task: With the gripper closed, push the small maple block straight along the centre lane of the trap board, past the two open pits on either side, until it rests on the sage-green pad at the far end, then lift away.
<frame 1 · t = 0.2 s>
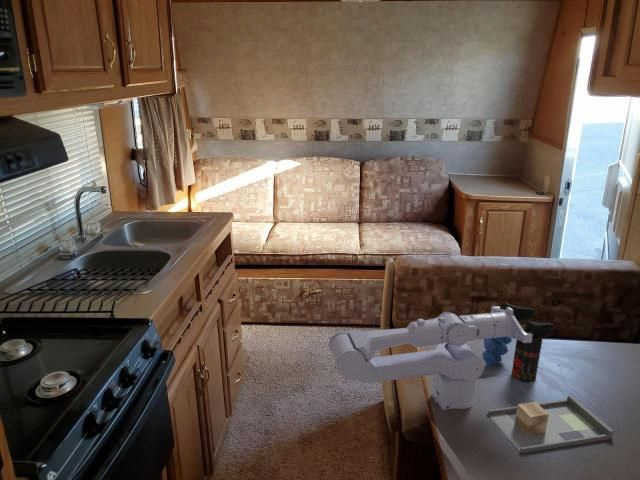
hand: (542, 320, 115), 21 cm above the table, tool horizontal, fingers open, 7 cm apart
block: (529, 428, 108), point 1 cm above the table, touching trap board
trap board: (546, 431, 109), on the table
deodorant: (522, 381, 128), on the table
grapes: (491, 362, 137), on the table
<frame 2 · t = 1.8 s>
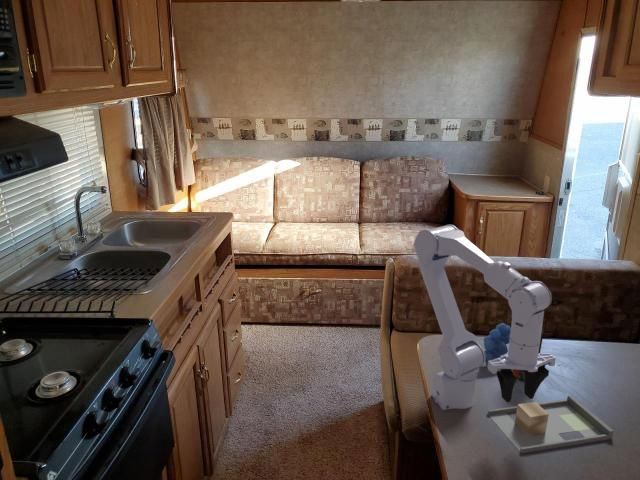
hand: (517, 397, 104), 10 cm above the table, tool pointing down, fingers open, 5 cm apart
nothing on the table moved.
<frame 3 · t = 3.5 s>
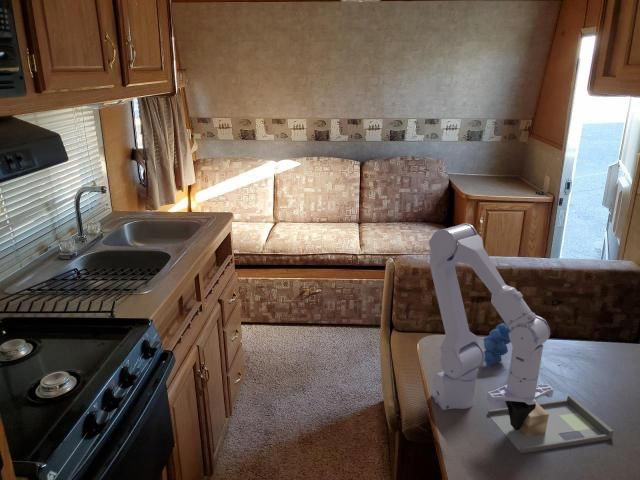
hand: (515, 426, 106), 3 cm above the table, tool pointing down, fingers closed, pressing on block
block: (529, 428, 108), point 2 cm above the table, touching gripper, trap board
everything else where it was.
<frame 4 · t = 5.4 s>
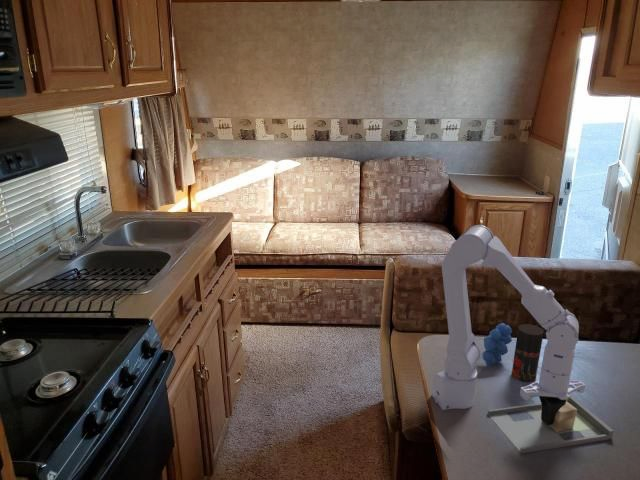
hand: (546, 422, 108), 3 cm above the table, tool pointing down, fingers closed, pressing on block
block: (557, 424, 109), point 2 cm above the table, touching gripper, trap board
everything else where it was.
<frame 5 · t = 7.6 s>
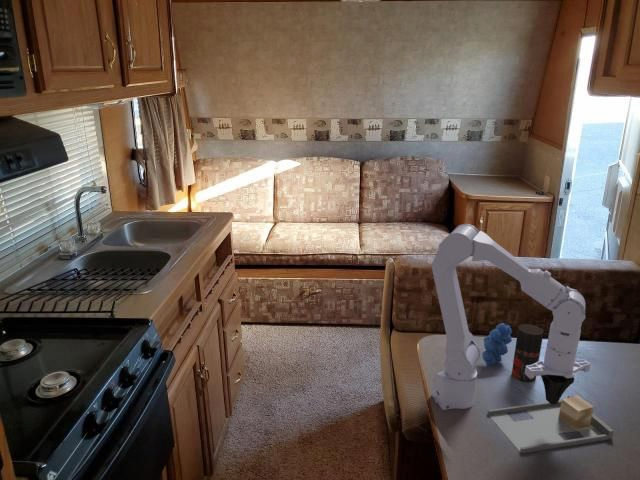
hand: (551, 401, 107), 8 cm above the table, tool pointing down, fingers closed
block: (573, 421, 110), point 1 cm above the table, touching trap board
everything else where it was.
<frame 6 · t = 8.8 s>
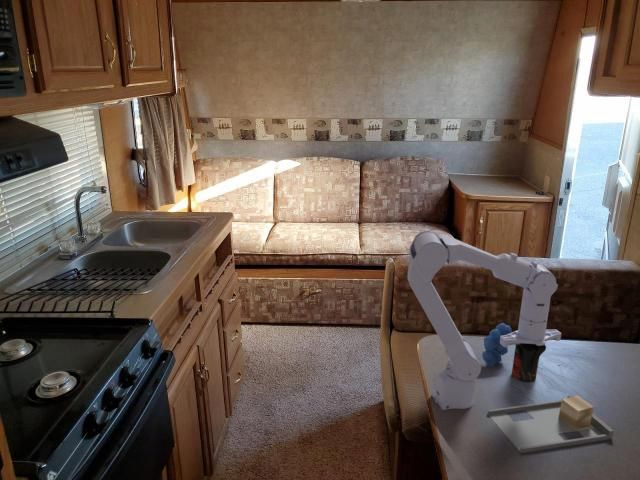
hand: (526, 369, 114), 10 cm above the table, tool pointing down, fingers closed
nothing on the table moved.
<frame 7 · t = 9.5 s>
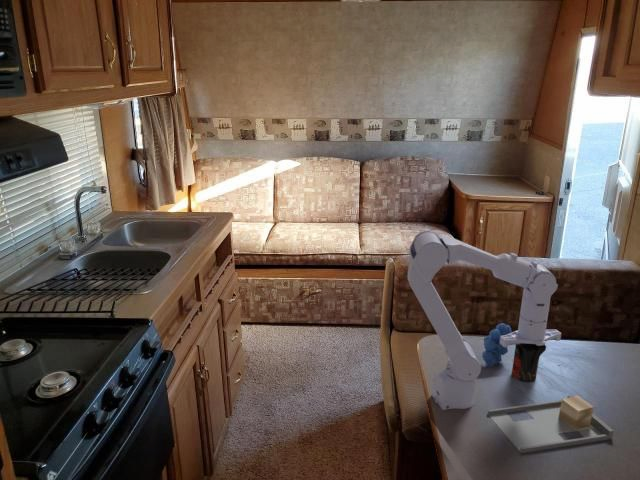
hand: (526, 369, 114), 10 cm above the table, tool pointing down, fingers closed
nothing on the table moved.
at the end: block 0.5 cm from the target spot on the trap board, point 1.5 cm above the trap board's base; block tilted 0° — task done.
